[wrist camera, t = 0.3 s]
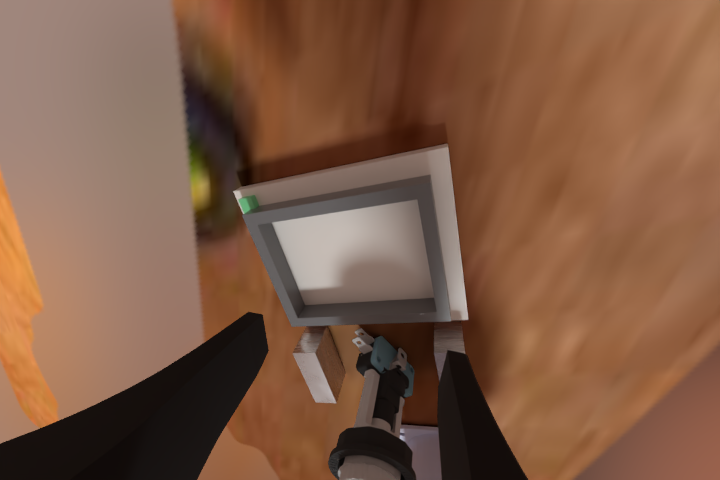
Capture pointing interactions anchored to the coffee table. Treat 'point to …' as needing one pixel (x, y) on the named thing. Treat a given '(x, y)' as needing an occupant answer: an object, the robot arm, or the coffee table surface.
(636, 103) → the coffee table surface
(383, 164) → the port dock
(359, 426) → the push button
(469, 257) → the coffee table surface
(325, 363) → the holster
